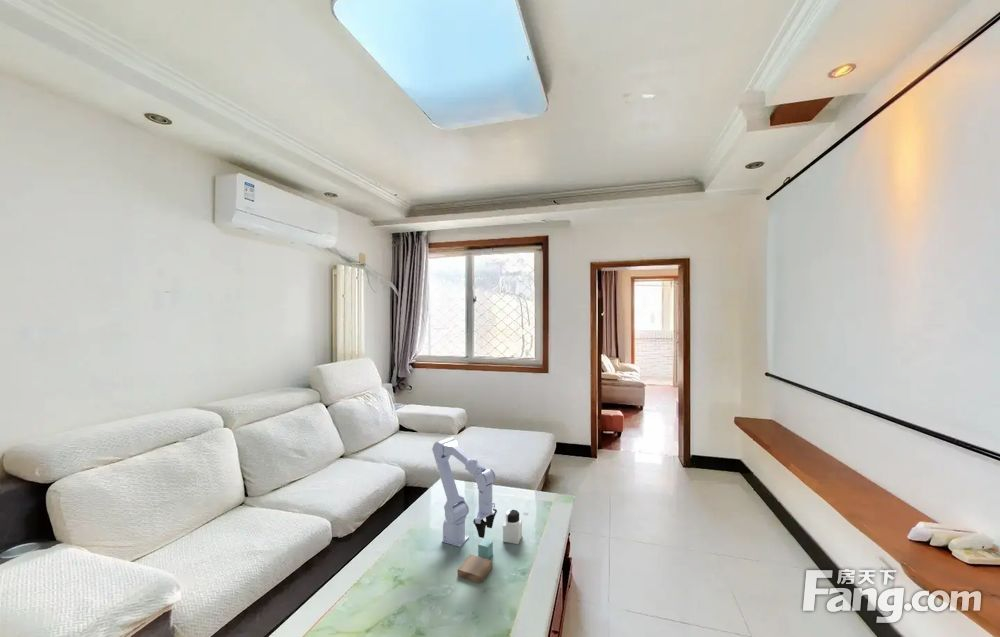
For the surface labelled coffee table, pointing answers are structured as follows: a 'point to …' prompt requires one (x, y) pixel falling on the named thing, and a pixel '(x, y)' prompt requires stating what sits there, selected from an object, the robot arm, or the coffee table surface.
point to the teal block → (485, 548)
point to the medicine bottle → (512, 527)
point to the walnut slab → (475, 568)
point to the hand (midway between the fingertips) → (485, 532)
